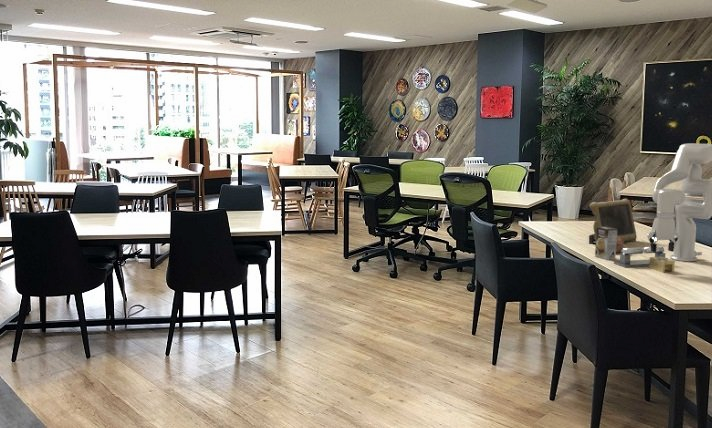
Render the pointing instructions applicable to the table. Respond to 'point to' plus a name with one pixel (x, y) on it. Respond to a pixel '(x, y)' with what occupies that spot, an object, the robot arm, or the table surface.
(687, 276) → the table surface
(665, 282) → the table surface
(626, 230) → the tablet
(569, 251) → the table surface
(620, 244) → the decorative rock
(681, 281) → the table surface
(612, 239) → the coffee box
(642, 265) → the shaft rig
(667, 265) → the coupler
